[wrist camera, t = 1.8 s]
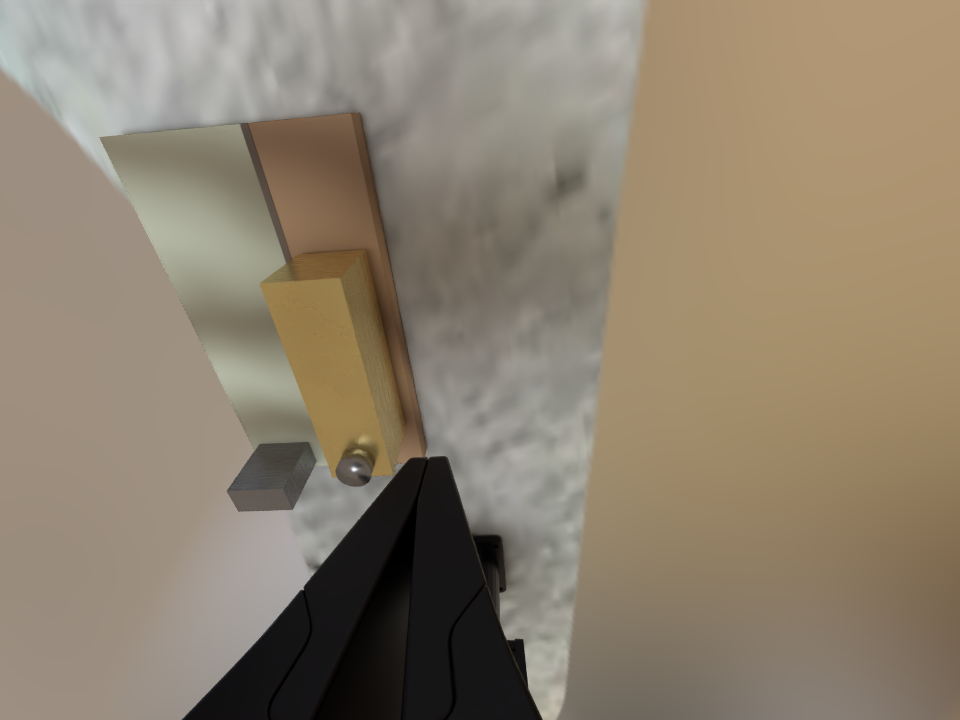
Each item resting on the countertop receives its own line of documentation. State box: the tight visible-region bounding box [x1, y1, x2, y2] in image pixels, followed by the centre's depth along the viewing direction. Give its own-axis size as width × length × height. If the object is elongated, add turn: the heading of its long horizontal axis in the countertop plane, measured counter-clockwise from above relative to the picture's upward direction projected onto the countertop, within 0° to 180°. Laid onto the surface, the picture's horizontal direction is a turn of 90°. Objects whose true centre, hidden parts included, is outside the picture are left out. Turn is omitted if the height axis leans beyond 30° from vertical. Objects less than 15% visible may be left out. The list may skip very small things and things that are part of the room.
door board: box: [99, 113, 426, 466], centre depth 21 cm, size 18×10×1 cm, turn 5°
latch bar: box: [259, 249, 406, 487], centre depth 19 cm, size 10×3×4 cm, turn 5°
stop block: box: [227, 442, 317, 511], centre depth 23 cm, size 2×3×4 cm, turn 95°
